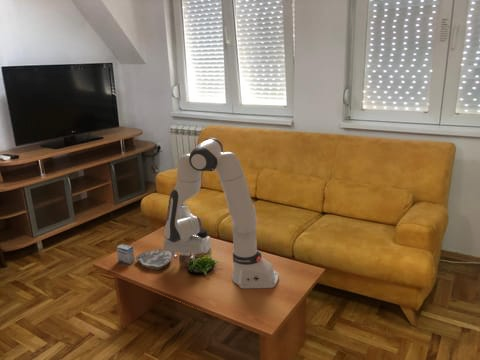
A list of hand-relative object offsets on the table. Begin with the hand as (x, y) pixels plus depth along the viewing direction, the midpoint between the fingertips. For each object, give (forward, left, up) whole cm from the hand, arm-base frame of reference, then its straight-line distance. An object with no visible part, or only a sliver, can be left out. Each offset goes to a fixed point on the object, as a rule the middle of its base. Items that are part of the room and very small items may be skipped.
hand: (184, 259), depth 215 cm
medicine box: (+32, +1, -4) cm, 33 cm away
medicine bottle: (-5, -17, -4) cm, 18 cm away
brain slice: (+16, -1, -4) cm, 17 cm away
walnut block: (-1, -1, -3) cm, 3 cm away
